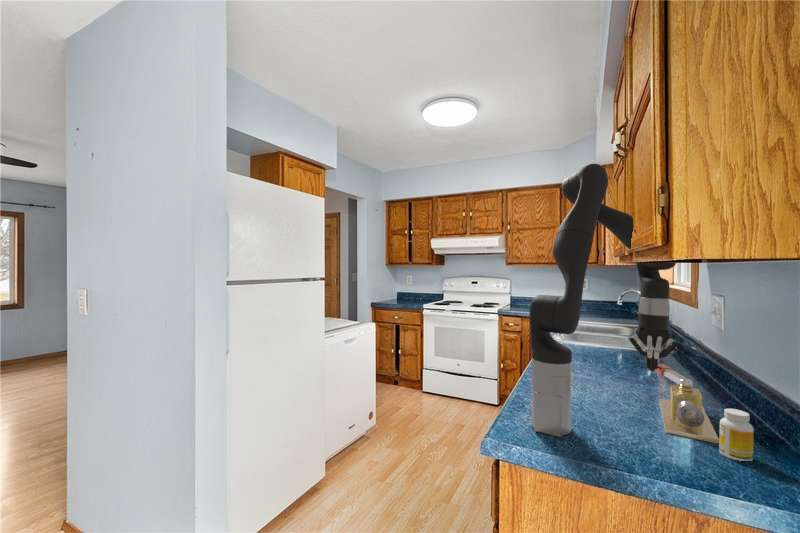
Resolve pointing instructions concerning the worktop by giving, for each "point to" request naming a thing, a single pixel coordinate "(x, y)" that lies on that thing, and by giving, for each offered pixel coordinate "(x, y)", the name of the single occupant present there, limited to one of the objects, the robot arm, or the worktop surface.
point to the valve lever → (674, 376)
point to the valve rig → (687, 415)
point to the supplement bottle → (736, 435)
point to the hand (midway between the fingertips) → (651, 370)
